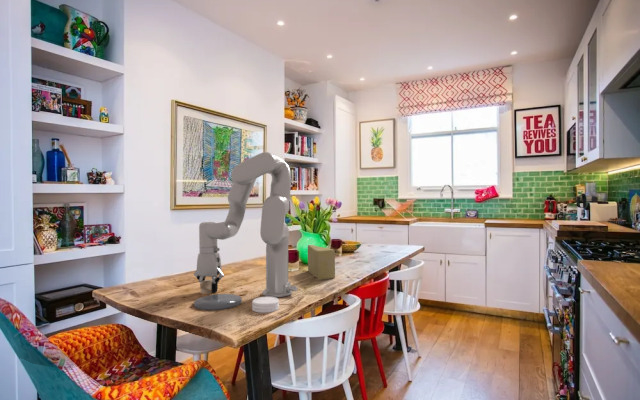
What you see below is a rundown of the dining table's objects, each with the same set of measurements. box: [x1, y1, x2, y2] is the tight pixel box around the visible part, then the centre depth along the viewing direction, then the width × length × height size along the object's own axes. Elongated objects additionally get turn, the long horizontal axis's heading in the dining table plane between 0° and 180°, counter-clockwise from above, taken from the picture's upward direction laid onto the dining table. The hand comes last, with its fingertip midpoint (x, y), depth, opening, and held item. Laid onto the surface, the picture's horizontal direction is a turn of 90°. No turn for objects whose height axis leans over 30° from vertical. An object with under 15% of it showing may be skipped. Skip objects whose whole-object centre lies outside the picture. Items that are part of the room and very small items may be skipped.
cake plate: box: [193, 293, 243, 311], centre depth 143 cm, size 18×18×1 cm
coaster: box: [251, 296, 280, 314], centre depth 135 cm, size 10×10×4 cm
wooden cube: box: [200, 279, 216, 295], centre depth 159 cm, size 5×5×5 cm
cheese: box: [307, 244, 336, 281], centre depth 191 cm, size 22×10×15 cm, turn 26°
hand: (209, 291), depth 159 cm, fingers closed on wooden cube, 5 cm apart
